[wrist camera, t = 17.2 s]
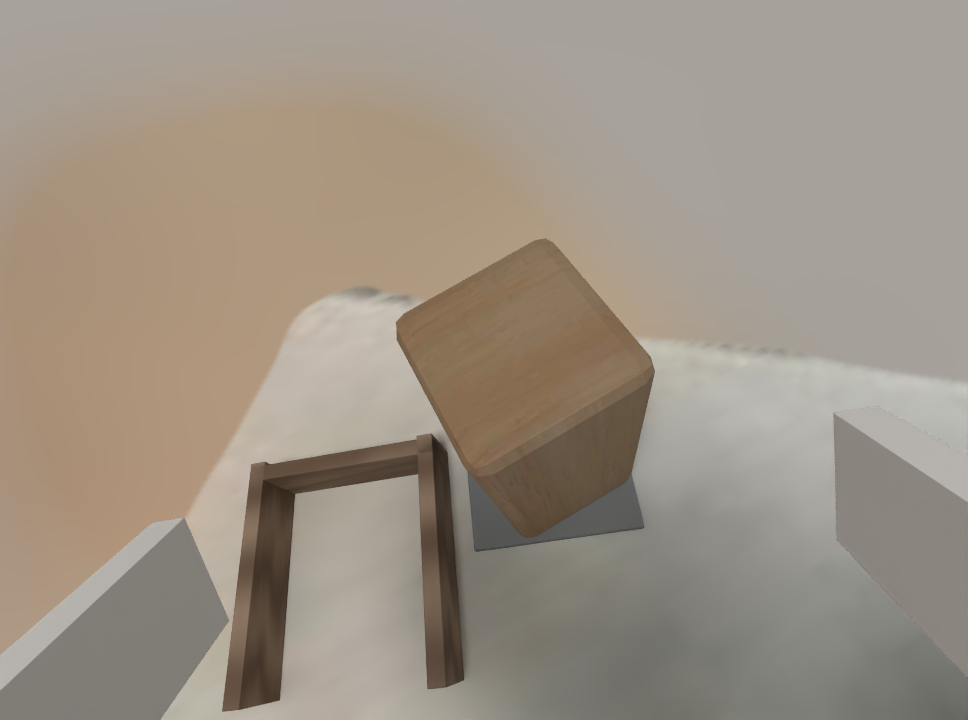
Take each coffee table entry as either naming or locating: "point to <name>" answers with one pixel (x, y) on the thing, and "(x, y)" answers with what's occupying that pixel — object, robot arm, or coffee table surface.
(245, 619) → the wooden u-shaped frame
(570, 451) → the wooden block
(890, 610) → the coffee table surface
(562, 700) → the coffee table surface
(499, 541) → the pad
